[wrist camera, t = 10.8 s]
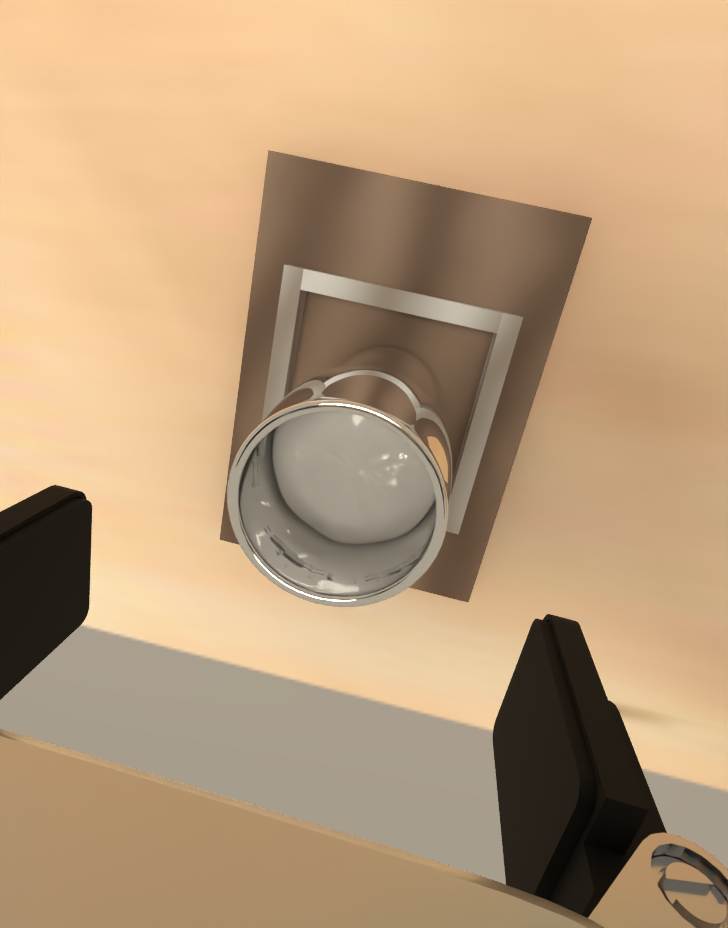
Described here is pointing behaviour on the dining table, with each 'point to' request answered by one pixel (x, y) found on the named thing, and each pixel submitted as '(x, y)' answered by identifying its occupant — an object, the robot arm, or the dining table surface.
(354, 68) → the dining table surface
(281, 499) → the beer glass
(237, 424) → the walnut board
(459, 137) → the dining table surface
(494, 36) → the dining table surface
